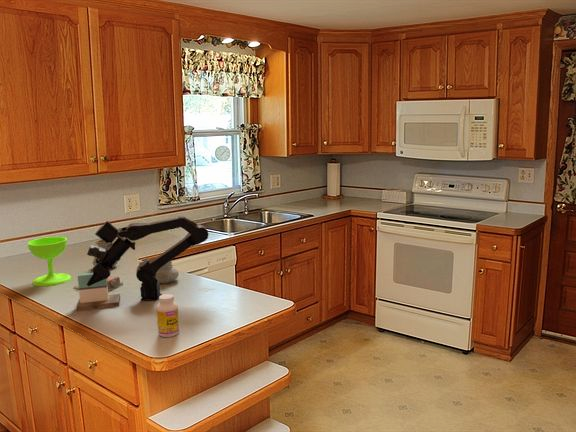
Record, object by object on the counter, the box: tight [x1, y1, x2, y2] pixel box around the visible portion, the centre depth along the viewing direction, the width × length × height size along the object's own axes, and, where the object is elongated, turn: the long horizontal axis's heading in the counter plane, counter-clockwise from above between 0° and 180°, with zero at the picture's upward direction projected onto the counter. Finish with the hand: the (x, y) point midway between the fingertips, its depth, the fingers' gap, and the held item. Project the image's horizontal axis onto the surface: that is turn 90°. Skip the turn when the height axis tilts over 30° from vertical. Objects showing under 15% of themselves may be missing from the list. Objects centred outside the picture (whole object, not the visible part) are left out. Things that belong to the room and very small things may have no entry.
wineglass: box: [26, 236, 72, 287], centre depth 240 cm, size 16×16×18 cm
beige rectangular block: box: [78, 286, 109, 303], centre depth 209 cm, size 10×3×6 cm, turn 104°
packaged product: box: [73, 275, 124, 292], centre depth 231 cm, size 18×5×10 cm
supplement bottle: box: [156, 293, 180, 338], centre depth 178 cm, size 7×7×13 cm
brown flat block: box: [76, 293, 121, 311], centre depth 210 cm, size 15×10×2 cm, turn 104°
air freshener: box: [156, 260, 179, 284], centre depth 234 cm, size 11×8×10 cm
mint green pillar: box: [77, 272, 107, 288], centre depth 208 cm, size 10×2×5 cm, turn 104°
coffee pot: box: [92, 239, 119, 270], centre depth 254 cm, size 21×12×15 cm, turn 32°
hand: (88, 281), depth 207 cm, fingers open, 9 cm apart
